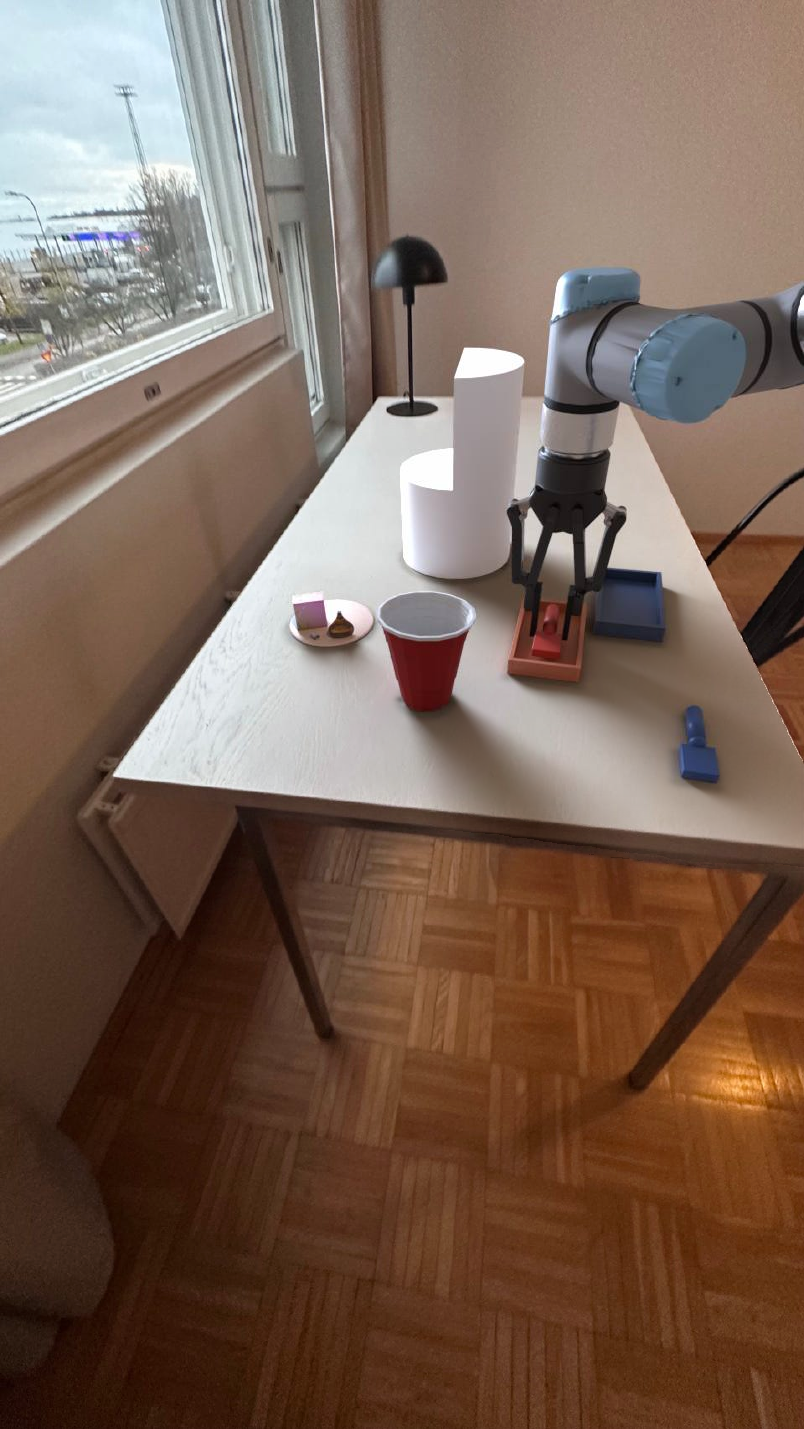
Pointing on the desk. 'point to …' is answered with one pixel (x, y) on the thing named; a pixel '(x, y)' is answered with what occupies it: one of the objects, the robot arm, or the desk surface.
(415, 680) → the plastic cup
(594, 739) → the desk surface
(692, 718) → the blue stamp
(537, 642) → the red rubber stamp
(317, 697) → the desk surface
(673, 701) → the desk surface
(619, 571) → the blue tray
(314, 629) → the round pink plate
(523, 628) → the terracotta tray
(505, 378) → the cylinder
